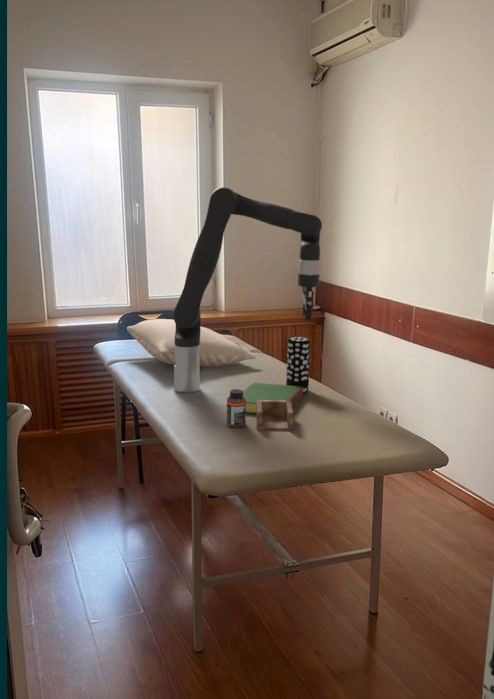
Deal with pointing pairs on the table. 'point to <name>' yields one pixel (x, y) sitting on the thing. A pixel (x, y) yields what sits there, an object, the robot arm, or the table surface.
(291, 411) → the open-sided wooden box
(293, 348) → the white-spotted black cylinder
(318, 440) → the table surface
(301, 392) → the hardcover book
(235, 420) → the supplement bottle
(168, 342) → the pillow
